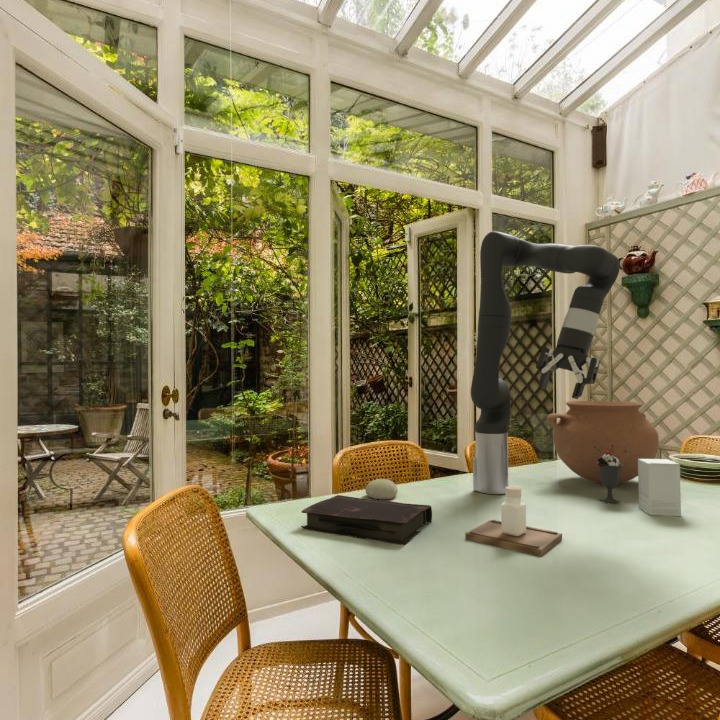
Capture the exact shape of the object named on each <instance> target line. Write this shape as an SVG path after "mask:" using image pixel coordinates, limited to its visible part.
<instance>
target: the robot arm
mask: <svg viewBox="0 0 720 720" xmlns="http://www.w3.org/2000/svg"><path fill="white" fill-rule="evenodd" d="M479 257H480V259H479V261H480V262H479V263H480V264H479V265H480V267H479V268H480V295H479V309H478V318H477V319H478V320H477V337H476V338H477V339H476V351H475V363H474V368H473V369H474V370H473V374H472V381H471V386H470V398H471V401H472V404H473V405H474V406H475V407H477V408H478V409H479V410H480V415H479V418H478V419H477V420H476V422H475V425H474V426H475V427H474V428H475V429H474V430H475V431H474V432H475V433H474V434H475V436H474V437H475V456H474V457H473V458H472V478H473V479H472V480H473V481H472V482H473V483H472V485H473V487H472V489H473V491H477V492H479V493H481V494H488V495H503V494H505V487H508V486H509V445H508V444H509V442H508V441H509V437H508V436H509V435H508V432H509V430H508V428H509V424H510V420H511V391H510V390H511V389H510V387H509V384H508V383H507V382H506V381H505V380H503V379H502V378H500V363H501V358H502V356H503V353H504V351H505V348H506V345H507V343H508V341H509V337H510V333H511V326H512V325H511V324H512V308H511V304H510V301H509V298H508V296H507V293H506V291H505V288H504V285H503V275H502V274H503V267H521V266H522V267H523V266H528V267H536V268H539V269H541V270H547V271H550V272H555V273H562V274H571V275H572V274H575V273H579V274H582V275H585V276H587V277H589V278H588V280H587V282H586V283H585V285H579V286H577V287H576V288H575V289H574V291H573V294H572V297H571V300H570V303H569V306H568V309H567V312H566V314H565V316H564V319H563V322H562V325H561V328H560V332H559V335H558V339H557V342H556V347H555V348H554V349H552V348H550V347H548V346H545V345H544V346H543V347H542V349H541V352H540V354H539V356H538V360H537V361H536V365H535V368H536V369H537V370H538V371H540V373H541V374H540V377H539V380H538V387H539V389H542V390H546V389H547V386H548V384H549V380H550V378H551V377H550V376H551V375H550V374H553V372H554V371H556V370H559V369H561V370H563V371H564V370H567V371H570V372H573V374H574V375H575V378H576V380H577V382H576V383H575V386H574V388H573V392H572V394H571V398H572V399H575V400H578V399H579V398H581V397H582V396H583V392H584V389H585V386H587V385H590V384H591V385H594V384H595V383H596V381H597V376H598V373H599V372H598V371H599V368H600V364H601V360H600V359H599V358H596V357H589V355H588V354H589V352H590V349H591V346H592V344H593V341H594V337H595V333H596V332H597V327H598V323H599V317H600V314H601V311H602V308H603V305H604V300H605V298H606V297H607V295H608V294H609V292H610V291H611V289H612V287H613V286H614V284H615V282H616V281H617V279H618V276H619V273H620V270H621V269H620V268H621V263H620V260H619V258H618V257H617V256H616V255H615V254H614V253H611V252H610V251H609V250H607V249H605V248H603V246H602V247H601V246H599V245H594V244H593V245H592V244H581V245H580V244H579V245H569V244H561V243H533V242H530V241H527V240H525V239H523V238H520V237H517V236H516V235H512V234H508V233H505V232H502V231H501V232H500V231H495V230H494V231H489V232H488V233H487V234H486V235H485V236H484V237H483V239H482V242H481V246H480V253H479ZM550 357H553V359H552V360H550V361H549V358H550ZM548 361H549V362H548ZM585 364H587V366H588V370H587V374H586V373H585V371H584V367H583V366H584V365H585ZM585 374H586V375H585Z"/></svg>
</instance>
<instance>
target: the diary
mask: <svg viewBox="0 0 720 720" xmlns="http://www.w3.org/2000/svg"><path fill="white" fill-rule="evenodd" d="M301 513H302V514H306V525H301V528H302V529H304V530H307V531H310V532H311V531H312V532H317V533H323V534H329V535H330V534H331V535H337V536H343V537H344V536H347V537H351V538H357V539H361V540H362V539H363V540H368V541H369V540H372V541H373V540H374V541H379V542H382V543H388V544H394V545H400V546H405V545H407V544H408V543H409V542H411V540H412V539H414V538H415V537H416V536H417V535H419V533H421V531H420V529H421V528H422V527H423V526H424V525H427V526H428V525H429V524H427V523H432V521H433V520H432V519H433V510H432V505H429V504H417V503H406V502H405V503H403V502H398V501H391V500H386V499H379V500H377V499H374V498H361V497H355V496H354V497H353V496H347V495H341V494H337V495H334V496H333V497H330V498H327V499H324V500H320V501H319V502H316V503H313V504H311V505H309V506H307V507H306V508H304V509H303V510H302V511H301Z"/></svg>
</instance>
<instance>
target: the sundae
mask: <svg viewBox="0 0 720 720" xmlns="http://www.w3.org/2000/svg"><path fill="white" fill-rule="evenodd" d="M613 446H614V445H611V448H613ZM610 450H611V449H610ZM610 450H609V451H610ZM609 451H606V453H605V454H603V455H602V457H601V458H599V459H597V461H598V462H597V463H596V464H597V465H598V466H599V471H600V478H601V482H602V485H603V486H604V487H605V488H606V489H607V490H606V491H607V495H606V497H605V498H600V499H599V502H601V503H603V502H604V504H608V503H610V504H609V505H617V504H618V503H619V504H620V503H621V501H620V500H618V499H615V497H614V496H613V490H614V489H615V488H616V487H617V486H618V485H619V483H618V481H619V474H620V468H621V467H622V466H623V464H622V463H619V460H618V459H617V458H616V457H615V456H616V455H615V454H614V451H613V453H610V452H609Z"/></svg>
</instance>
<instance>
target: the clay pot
mask: <svg viewBox="0 0 720 720" xmlns="http://www.w3.org/2000/svg"><path fill="white" fill-rule="evenodd" d="M565 405H566V406H568V407H569V409H568V410H567V411H566V412H565V413H564V414H563V413H557V412H556V413H555V412H554V413H549V414H548V415H547V417H546V421H547V423H548V424H549V425H550V426H551V428H552V441H553V445H554V446H553V447H554V449H555V452H556V454H557V456H558V457H559V458H560V460H561V461H562V463H563V464H564V465H566V467H567V468H569V470H571V472H573V473H575V474H576V475H577V476H579V477H581V478H583V479H585V480H588V481H591V482H594V483H597V484H602V482H601V478H600V471H599V466H598V465H597V464H596V463H597V462H598V461H597V459H599V458H601V457H602V455H603V454H605V453H606V451H609V450H610V449H611V450H610V451H609V452H610V453H613V451H614V454H615V455H616V456H615V457H616V458H617V459H618V460H619V463H622V464H623V466H622V467H621V468H620V474H619V481H618V484H620V483H621V484H622V483H625V482H628V481H631V480H634V479H635V478H638V459H657V455H658V451H659V444H660V442H659V432H658V431H657V428H656V427H655V426H654V425H653V423H651V422H650V421H649V420H648V419H647V418H646V415H645V413H644V412H642V411H640V409H641V407H642V406H643V403H642V402H635V401H634V402H633V401H622V400H621V401H619V400H617V401H616V400H572V401H566V402H565ZM557 419H558V421H557V422H556V420H557ZM611 445H614V446H613V448H611ZM602 485H603V484H602Z"/></svg>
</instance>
